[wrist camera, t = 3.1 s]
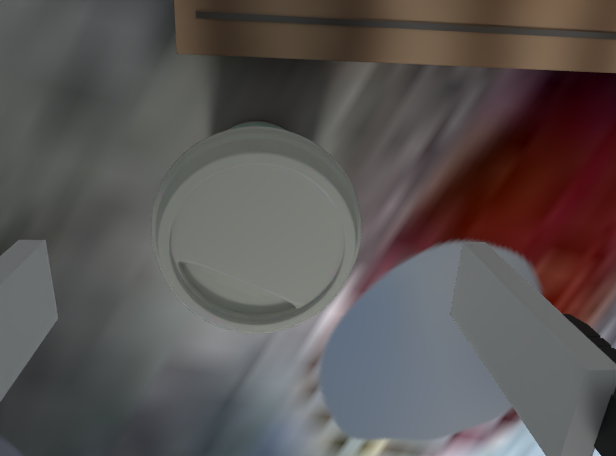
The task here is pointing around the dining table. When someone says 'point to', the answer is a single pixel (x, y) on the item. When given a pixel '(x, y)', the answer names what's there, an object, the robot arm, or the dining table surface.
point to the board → (406, 31)
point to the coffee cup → (256, 228)
